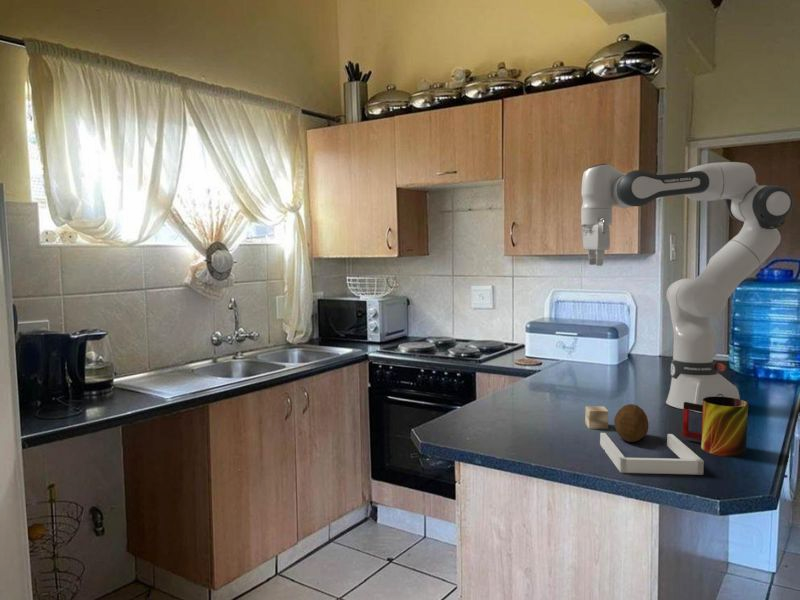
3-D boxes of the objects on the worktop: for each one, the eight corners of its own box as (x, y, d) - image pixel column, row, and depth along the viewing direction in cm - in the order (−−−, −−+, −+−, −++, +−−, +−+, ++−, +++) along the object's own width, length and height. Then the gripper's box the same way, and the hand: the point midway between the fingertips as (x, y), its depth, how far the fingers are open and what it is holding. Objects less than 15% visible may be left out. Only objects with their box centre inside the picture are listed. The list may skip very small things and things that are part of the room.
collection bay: (672, 445, 152) (672, 434, 151) (703, 474, 133) (703, 461, 132) (600, 444, 153) (600, 432, 153) (620, 472, 134) (620, 459, 134)
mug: (682, 439, 157) (683, 393, 156) (743, 446, 151) (745, 398, 150) (682, 451, 148) (684, 402, 147) (748, 458, 142) (750, 408, 141)
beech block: (603, 424, 171) (603, 406, 171) (607, 429, 166) (608, 411, 166) (585, 423, 172) (585, 406, 171) (589, 429, 167) (589, 411, 166)
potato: (605, 441, 156) (605, 407, 155) (620, 430, 165) (621, 398, 164) (639, 447, 151) (639, 413, 150) (653, 435, 160) (654, 403, 159)
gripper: (615, 217, 174) (615, 266, 175) (599, 220, 194) (598, 264, 195) (593, 217, 174) (592, 266, 175) (579, 220, 195) (578, 264, 196)
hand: (595, 265), depth 185 cm, fingers open, 8 cm apart
